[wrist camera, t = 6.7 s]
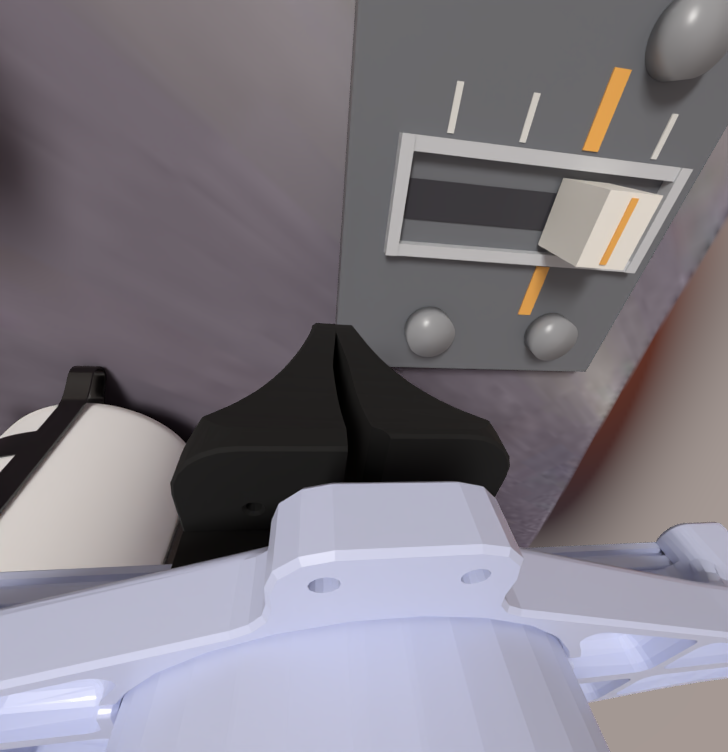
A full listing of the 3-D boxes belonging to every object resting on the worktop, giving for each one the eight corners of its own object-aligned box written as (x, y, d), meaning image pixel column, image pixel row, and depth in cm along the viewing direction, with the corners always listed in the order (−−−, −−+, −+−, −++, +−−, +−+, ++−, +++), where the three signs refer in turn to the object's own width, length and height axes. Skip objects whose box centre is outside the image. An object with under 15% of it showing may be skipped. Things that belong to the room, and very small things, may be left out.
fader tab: (579, 248, 20) (624, 270, 17) (537, 244, 19) (576, 267, 16) (608, 183, 18) (665, 196, 15) (563, 178, 17) (612, 190, 14)
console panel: (573, 360, 26) (596, 381, 24) (333, 352, 24) (335, 376, 22) (786, -36, 15) (866, -62, 13) (364, -136, 12) (374, -190, 10)
